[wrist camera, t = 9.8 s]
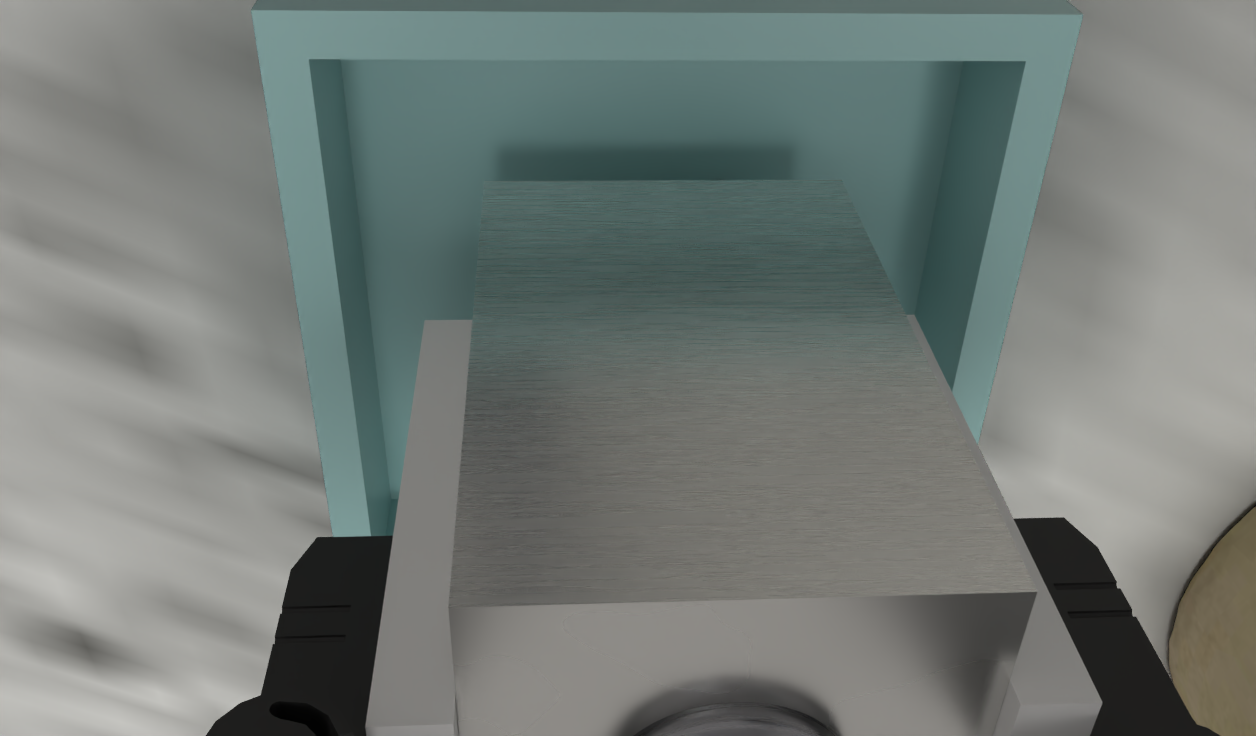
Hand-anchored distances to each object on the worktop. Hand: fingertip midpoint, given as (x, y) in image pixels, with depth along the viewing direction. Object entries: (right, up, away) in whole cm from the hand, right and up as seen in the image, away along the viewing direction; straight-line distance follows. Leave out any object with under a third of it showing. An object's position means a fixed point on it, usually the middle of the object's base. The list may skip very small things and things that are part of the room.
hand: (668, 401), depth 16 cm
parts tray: (0, +2, +3) cm, 4 cm away
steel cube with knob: (0, +1, +2) cm, 2 cm away
